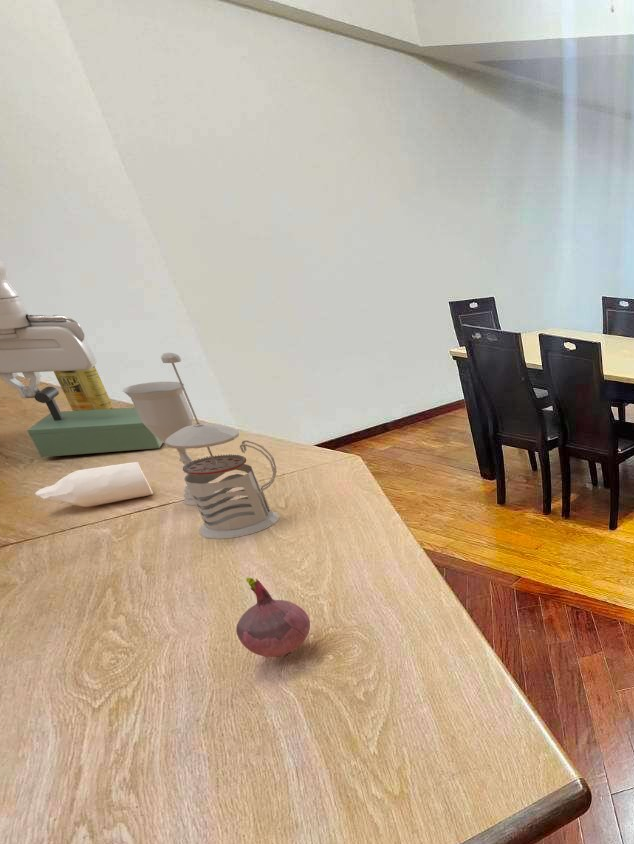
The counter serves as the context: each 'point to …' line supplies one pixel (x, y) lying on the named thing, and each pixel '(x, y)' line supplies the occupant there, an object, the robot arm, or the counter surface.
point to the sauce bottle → (84, 389)
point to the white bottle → (99, 485)
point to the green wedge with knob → (88, 430)
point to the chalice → (164, 414)
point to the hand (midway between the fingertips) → (32, 397)
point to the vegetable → (272, 625)
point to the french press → (222, 515)
